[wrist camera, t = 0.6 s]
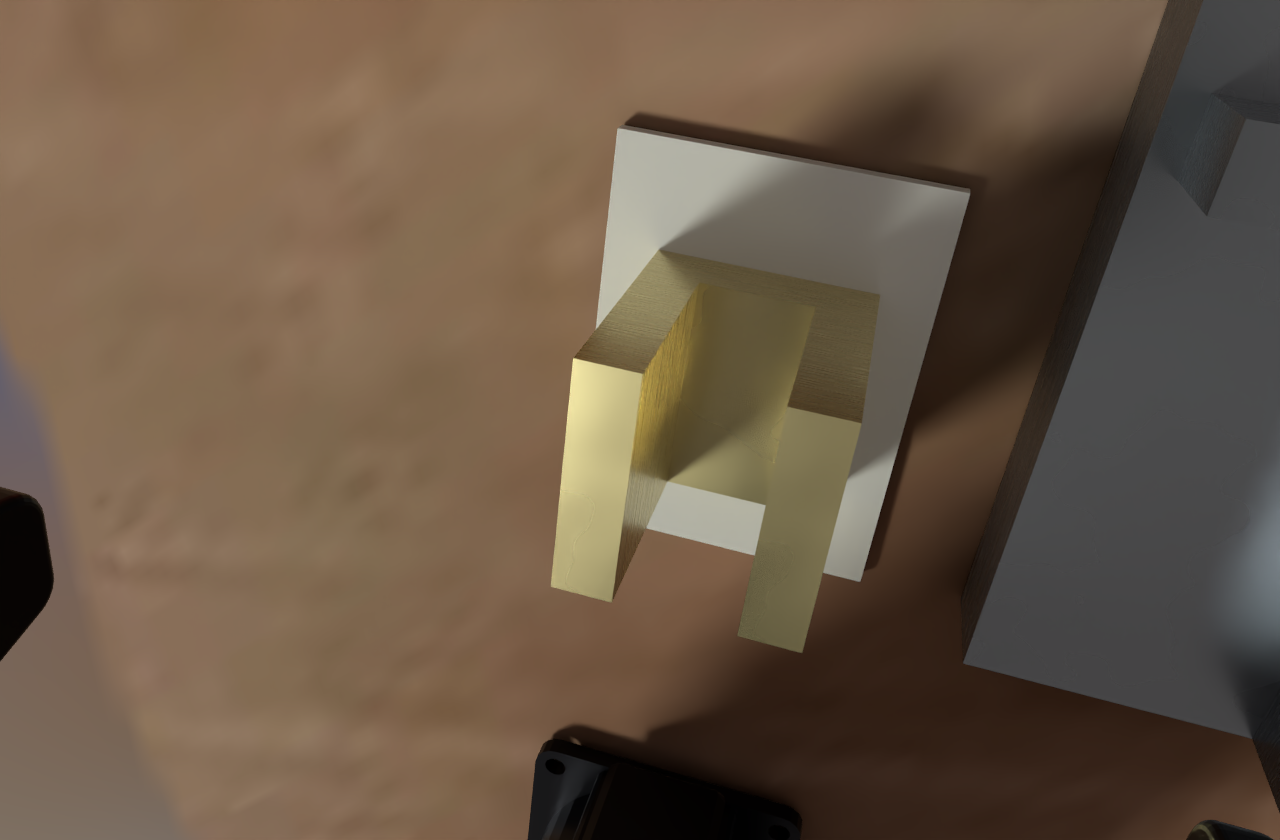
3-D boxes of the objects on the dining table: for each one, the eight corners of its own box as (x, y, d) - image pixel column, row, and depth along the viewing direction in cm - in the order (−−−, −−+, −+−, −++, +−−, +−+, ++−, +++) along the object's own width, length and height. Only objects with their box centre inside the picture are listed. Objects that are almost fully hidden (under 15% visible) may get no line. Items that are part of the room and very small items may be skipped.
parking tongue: (861, 573, 21) (860, 582, 20) (580, 503, 22) (575, 510, 21) (969, 188, 17) (970, 193, 17) (622, 124, 18) (617, 127, 18)
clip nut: (831, 486, 20) (801, 652, 15) (632, 439, 20) (550, 586, 16) (880, 294, 18) (861, 423, 13) (658, 249, 18) (573, 358, 14)
